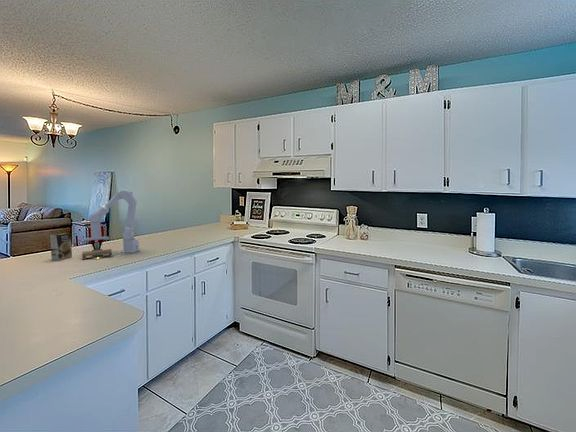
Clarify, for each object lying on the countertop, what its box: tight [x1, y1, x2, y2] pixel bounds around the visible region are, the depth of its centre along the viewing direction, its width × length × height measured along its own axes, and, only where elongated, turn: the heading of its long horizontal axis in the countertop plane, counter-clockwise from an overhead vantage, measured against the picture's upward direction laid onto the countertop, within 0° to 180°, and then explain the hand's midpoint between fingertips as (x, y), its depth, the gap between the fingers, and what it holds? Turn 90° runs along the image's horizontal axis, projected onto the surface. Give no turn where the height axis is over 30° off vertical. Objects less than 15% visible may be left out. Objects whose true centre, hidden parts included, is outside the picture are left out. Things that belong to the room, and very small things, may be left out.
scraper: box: [91, 242, 104, 259], centre depth 201 cm, size 15×6×7 cm, turn 32°
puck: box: [92, 256, 103, 261], centre depth 193 cm, size 5×5×1 cm
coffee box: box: [49, 232, 73, 261], centre depth 192 cm, size 9×6×16 cm
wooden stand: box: [81, 248, 113, 261], centre depth 196 cm, size 7×16×4 cm, turn 123°
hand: (97, 250), depth 206 cm, fingers closed on scraper, 2 cm apart
